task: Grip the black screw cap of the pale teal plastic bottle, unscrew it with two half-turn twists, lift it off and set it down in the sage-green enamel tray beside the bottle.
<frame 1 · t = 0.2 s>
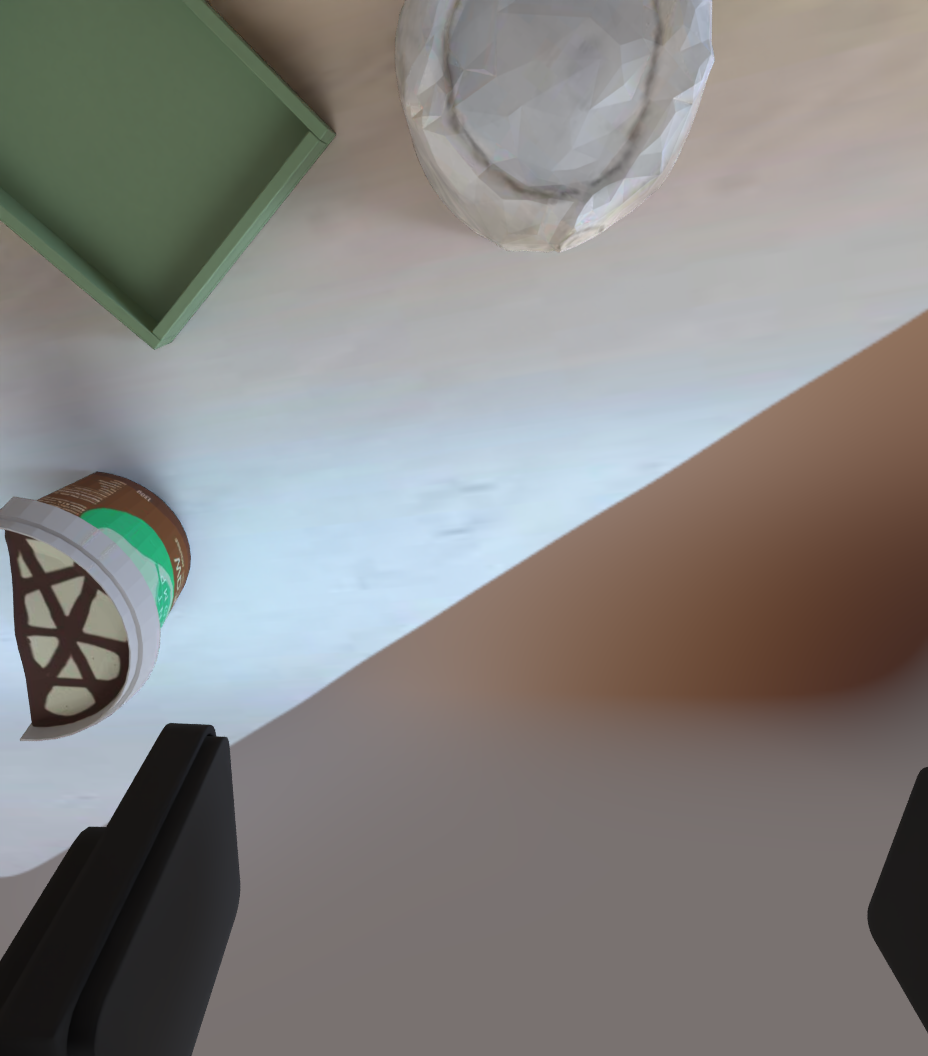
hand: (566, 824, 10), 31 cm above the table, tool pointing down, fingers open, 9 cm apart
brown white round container: (158, 552, 43), on the table
tray: (118, 121, 34), on the table
spray can: (515, 148, 35), on the table
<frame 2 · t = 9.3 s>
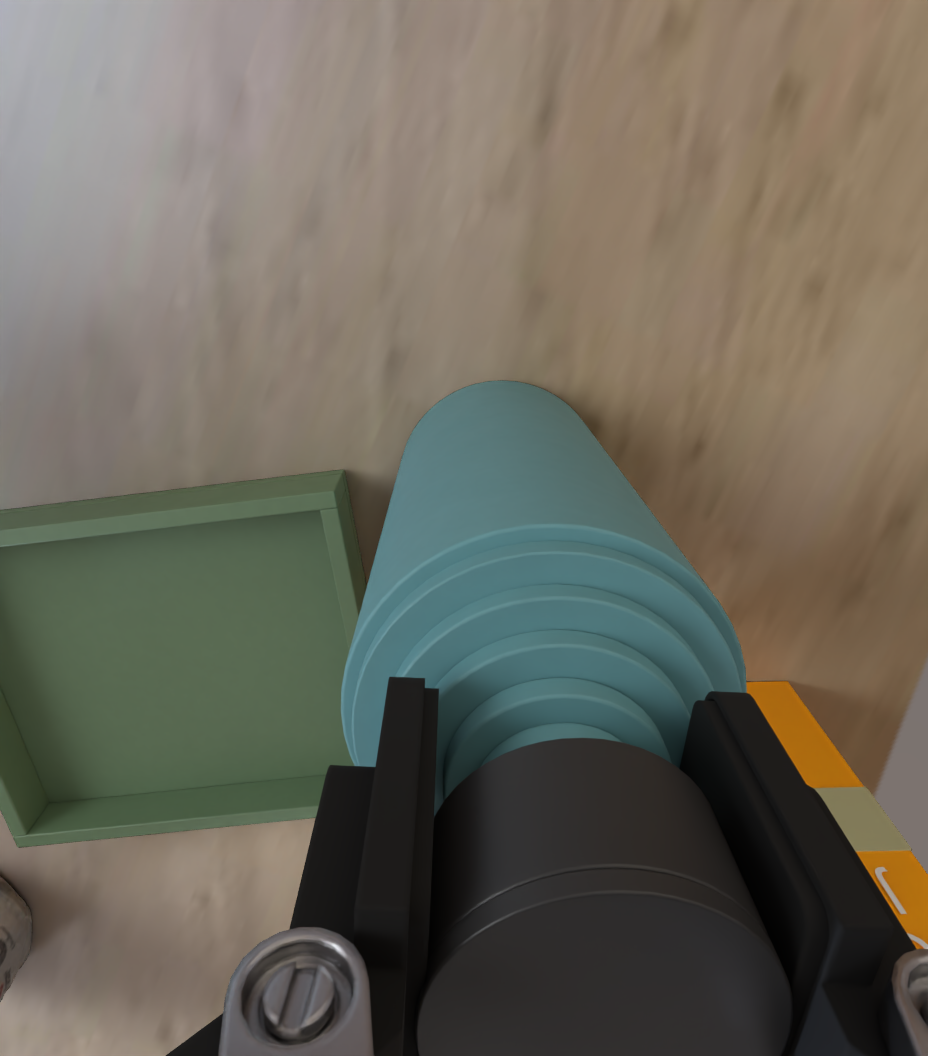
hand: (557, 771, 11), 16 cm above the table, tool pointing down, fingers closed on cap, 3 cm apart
cap: (598, 1005, 8), point 19 cm above the table, turned 179° so far, risen 0.1 cm, still on its thread, touching gripper
tray: (181, 654, 28), on the table
bottle: (499, 480, 26), on the table, touching gripper
orange juice: (680, 767, 31), on the table
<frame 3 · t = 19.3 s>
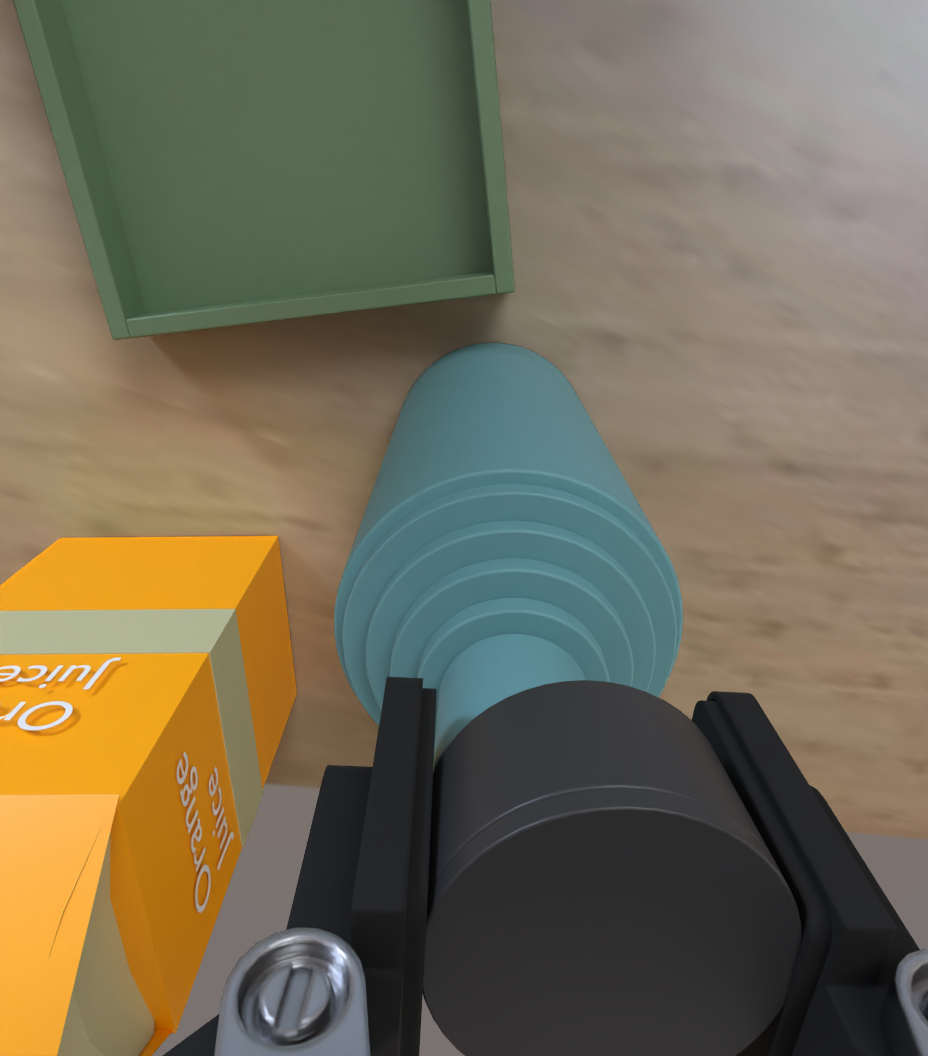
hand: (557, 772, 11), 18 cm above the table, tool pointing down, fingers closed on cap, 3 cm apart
cap: (604, 940, 8), point 21 cm above the table, off its thread, touching gripper
tray: (277, 56, 23), on the table
bottle: (491, 437, 28), on the table, touching gripper
orange juice: (185, 615, 31), on the table
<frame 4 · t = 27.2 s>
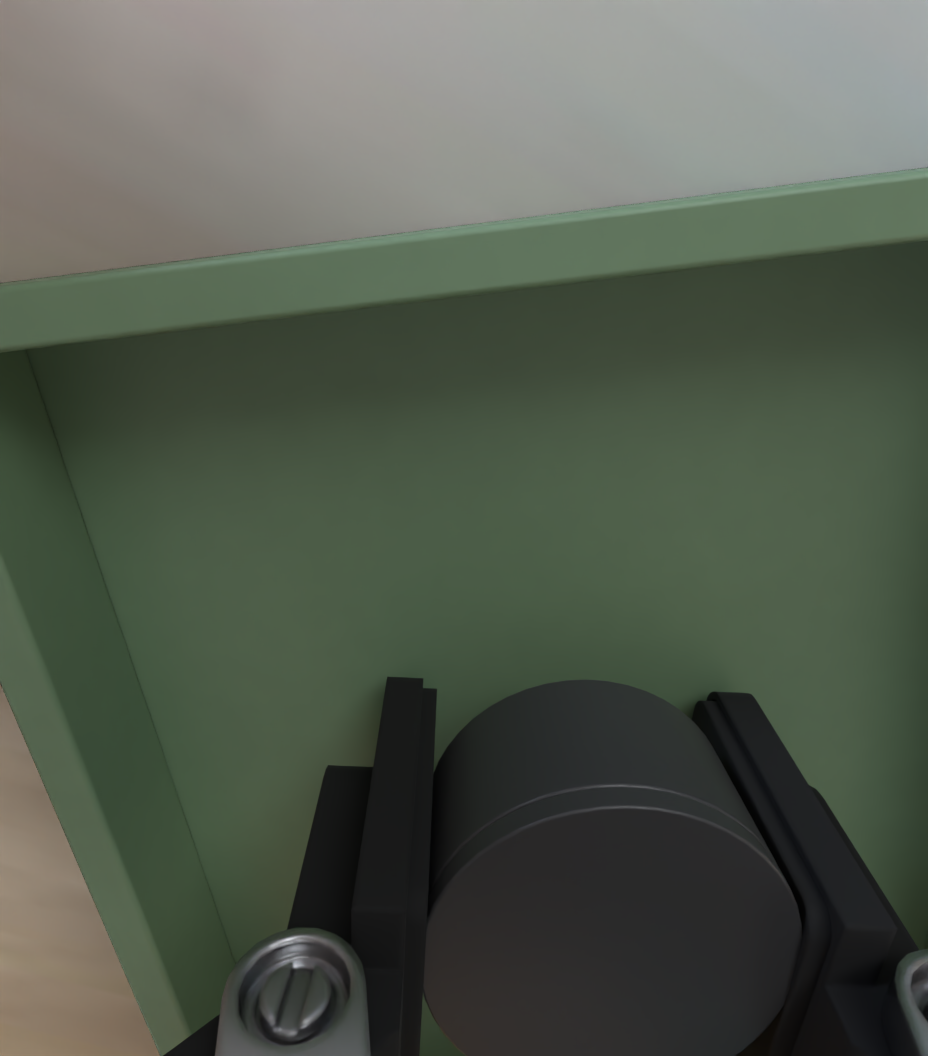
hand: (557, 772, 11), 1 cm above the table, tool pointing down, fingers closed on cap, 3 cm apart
cap: (604, 940, 8), point 4 cm above the table, off its thread, touching gripper
tray: (559, 734, 12), on the table
when the fingers open (2 cm above the table, at t = 33.0 s): cap drops 3 cm, resting on tray.
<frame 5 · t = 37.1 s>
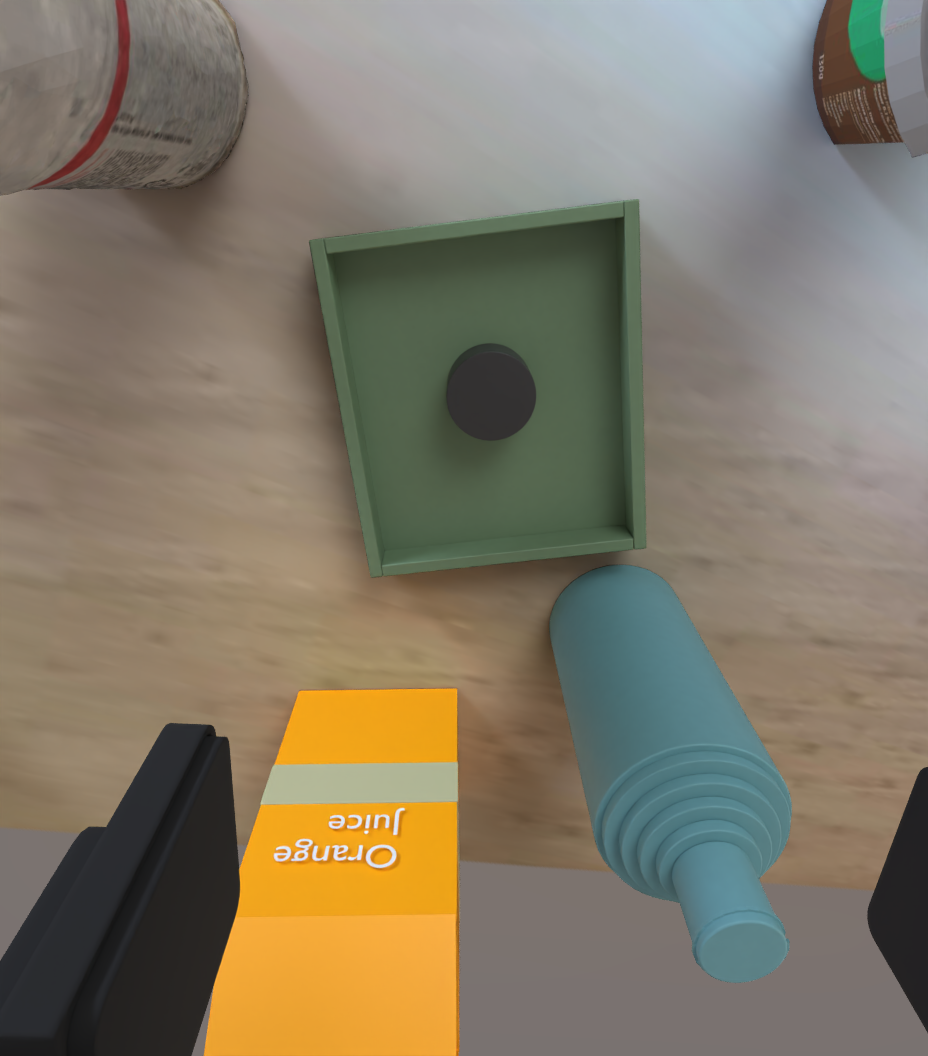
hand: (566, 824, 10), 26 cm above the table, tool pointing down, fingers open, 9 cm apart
cap: (491, 395, 32), point 2 cm above the table, off its thread, touching tray
tray: (489, 395, 34), on the table
spray can: (155, 84, 29), on the table
bottle: (615, 623, 39), on the table
orange juice: (382, 741, 42), on the table
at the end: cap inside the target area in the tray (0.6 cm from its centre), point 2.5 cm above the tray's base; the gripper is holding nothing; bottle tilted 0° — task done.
